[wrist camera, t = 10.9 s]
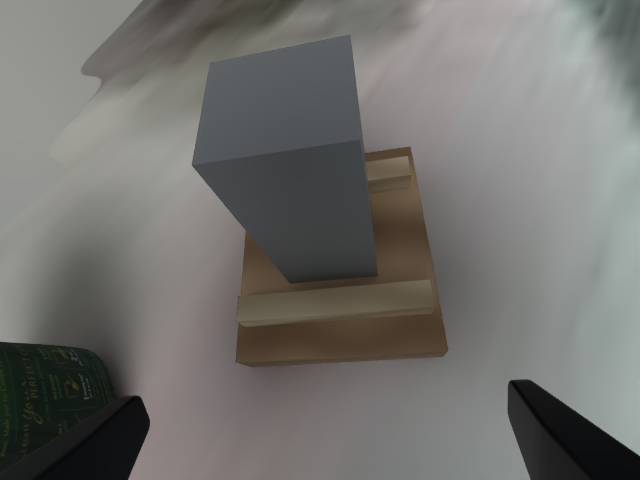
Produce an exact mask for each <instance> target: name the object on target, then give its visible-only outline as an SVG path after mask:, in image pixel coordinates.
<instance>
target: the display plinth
mask: <svg viewBox="0 0 640 480" xmlns="http://www.w3.org/2000/svg"><path fill="white" fill-rule="evenodd" d="M365 162H366V170H367V178H368V187H369V195H370V203H371V213H372V222H373V232H374V242H375V252H376V261H377V271H378V276H374V277H363V278H351V279H340V280H328V281H317V282H305V283H294V284H290V283H289V282H288V281H287V279H286V278H285V277H284V276H283V275H282V273H281V272H280V271H279V270H278V269H277V267H276V266H275V265H274V264H273V263H272V261H271V260H270V259H269V258H268V257H267V255H266V254H265V253H264V252H263V250H262V249H261V248H260V247H259V246H258V244H257V243H256V242H255V241H254V240H253V238H252V237H251V236H250V235H249V234H248V232H247V231H246V236H245V249H244V262H243V275H242V288H241V296H238V306H237V318H236V322H238V323H239V327H238V339H237V352H236V362H237V363H240V364H244V365H247V366H250V367H258V366H277V365H295V364H314V363H332V362H351V361H370V360H388V359H407V358H425V357H443V355H444V354H445V353H446V352H447V351H448V347H447V341H446V336H445V330H444V325H443V320H442V314H441V309H440V304H439V298H438V293H437V287H436V282H435V277H434V271H433V266H432V260H431V255H430V250H429V244H428V239H427V233H426V228H425V223H424V217H423V212H422V207H421V201H420V196H419V190H418V185H417V180H416V174H415V169H414V163H413V158H412V153H411V147H404V148H398V149H391V150H384V151H378V152H371V153H365Z"/></svg>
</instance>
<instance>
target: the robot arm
mask: <svg viewBox="0 0 640 480" xmlns="http://www.w3.org/2000/svg"><path fill="white" fill-rule="evenodd" d="M508 416H509V420H510V423H511V426H512V428H513V431H514V434H515V437H516V440H517V442H518V445H519V448H520V451H521V454H522V456H523V459H524V462H525V465H526V467H527V470H528V473H529V476H530V479H531V480H640V456H639V455H638V454H636V453H635V452H633V451H632V450H630V449H629V448H628V447H626V446H625V445H623V444H622V443H620V442H619V441H618V440H616V439H615V438H613V437H612V436H610V435H609V434H607V433H606V432H605V431H603V430H602V429H600V428H599V427H597V426H596V425H595V424H593V423H592V422H590V421H589V420H587V419H586V418H584V417H583V416H582V415H580V414H579V413H577V412H576V411H574V410H573V409H572V408H570V407H569V406H567V405H566V404H564V403H563V402H561V401H560V400H559V399H557V398H556V397H554V396H553V395H551V394H550V393H549V392H547V391H546V390H544V389H543V388H541V387H540V386H538V385H537V384H536V383H534V382H533V381H531V380H527V379H523V380H511V381H510V382H509V384H508ZM149 427H150V419H149V416H148V414H147V411H146V408H145V406H144V403H143V401H142V399H141V397H139V396H137V395H133V396H123V397H121V398H119V399H117V400H116V401H114V402H113V403H111V404H109V405H108V406H106V407H105V408H103V409H101V410H100V411H98V412H97V413H95V414H93V415H92V416H90V417H89V418H87V419H86V420H84V421H82V422H81V423H79V424H78V425H76V426H74V427H73V428H71V429H70V430H68V431H66V432H65V433H63V434H62V435H60V436H58V437H57V438H55V439H54V440H52V441H50V442H49V443H47V444H46V445H44V446H42V447H41V448H39V449H38V450H36V451H34V452H33V453H31V454H30V455H28V456H26V457H25V458H23V459H22V460H20V461H18V462H17V463H15V464H14V465H12V466H11V467H9V468H7V469H6V470H4V471H3V472H1V473H0V480H128V478H129V476H130V474H131V471H132V469H133V466H134V464H135V462H136V459H137V457H138V454H139V452H140V450H141V447H142V445H143V443H144V440H145V438H146V435H147V433H148V430H149Z"/></svg>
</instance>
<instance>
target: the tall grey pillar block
mask: <svg viewBox="0 0 640 480" xmlns="http://www.w3.org/2000/svg"><path fill="white" fill-rule="evenodd" d="M192 166H193V167H194V168H195V170H196V171H197V172H198V173H199V174H200V176H201V177H202V178H203V179H204V181H205V182H206V183H207V184H208V185H209V187H210V188H211V189H212V190H213V191H214V193H215V194H216V195H217V196H218V197H219V199H220V200H221V201H222V202H223V203H224V205H225V206H226V207H227V208H228V209H229V211H230V212H231V213H232V214H233V216H234V217H235V218H236V219H237V220H238V222H239V223H240V224H241V225H242V226H243V228H244V229H245V230H246V231H247V232H248V234H249V235H250V236H251V237H252V238H253V240H254V241H255V242H256V243H257V244H258V246H259V247H260V248H261V249H262V250H263V252H264V253H265V254H266V255H267V257H268V258H269V259H270V260H271V261H272V263H273V264H274V265H275V266H276V267H277V269H278V270H279V271H280V272H281V273H282V275H283V276H284V277H285V278H286V279H287V281H288V282H289V283H290V284H294V283H305V282H317V281H328V280H340V279H351V278H363V277H374V276H378V271H377V261H376V252H375V242H374V232H373V222H372V213H371V203H370V195H369V187H368V178H367V170H366V162H365V153H364V145H363V137H362V128H361V120H360V112H359V103H358V95H357V87H356V78H355V70H354V62H353V53H352V45H351V37H350V35H346V36H341V37H336V38H331V39H326V40H321V41H316V42H311V43H306V44H301V45H296V46H292V47H287V48H282V49H277V50H272V51H267V52H262V53H257V54H252V55H247V56H242V57H237V58H232V59H227V60H222V61H217V62H212V63H210V66H209V72H208V77H207V83H206V88H205V94H204V100H203V105H202V111H201V116H200V122H199V128H198V133H197V139H196V144H195V150H194V155H193V161H192Z"/></svg>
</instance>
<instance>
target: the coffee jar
mask: <svg viewBox="0 0 640 480" xmlns="http://www.w3.org/2000/svg"><path fill="white" fill-rule="evenodd" d="M114 401H116V397H115V394H114V390H113V387H112V384H111V381H110V379H109V376H108V374H107V371H106V369H105V367H104V365H103V363H102V361H101V360H100V358H99V357H98V356H97V355H96V354H94V353H93V352H91V351H89V350H86V349H81V348H74V347H65V346H56V345H41V344H24V343H8V342H0V473H1V472H3V471H4V470H6V469H7V468H9V467H11V466H12V465H14V464H15V463H17V462H18V461H20V460H22V459H23V458H25V457H26V456H28V455H30V454H31V453H33V452H34V451H36V450H38V449H39V448H41V447H42V446H44V445H46V444H47V443H49V442H50V441H52V440H54V439H55V438H57V437H58V436H60V435H62V434H63V433H65V432H66V431H68V430H70V429H71V428H73V427H74V426H76V425H78V424H79V423H81V422H82V421H84V420H86V419H87V418H89V417H90V416H92V415H93V414H95V413H97V412H98V411H100V410H101V409H103V408H105V407H106V406H108V405H109V404H111V403H113V402H114Z"/></svg>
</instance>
